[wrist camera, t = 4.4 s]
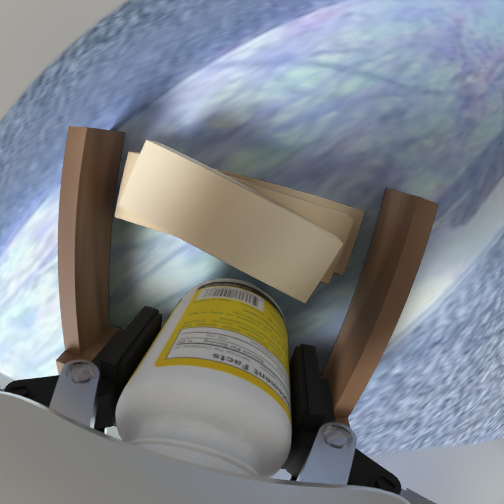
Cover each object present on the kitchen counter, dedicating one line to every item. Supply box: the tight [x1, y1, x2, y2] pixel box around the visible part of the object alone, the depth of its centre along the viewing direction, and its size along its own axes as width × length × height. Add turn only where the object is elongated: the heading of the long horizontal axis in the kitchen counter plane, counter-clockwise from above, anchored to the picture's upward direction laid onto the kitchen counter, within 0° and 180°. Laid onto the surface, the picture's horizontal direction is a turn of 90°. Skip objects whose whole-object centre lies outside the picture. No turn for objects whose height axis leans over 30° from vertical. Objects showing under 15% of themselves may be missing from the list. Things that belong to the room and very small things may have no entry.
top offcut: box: [119, 140, 343, 303], centre depth 12 cm, size 8×3×1 cm, turn 62°
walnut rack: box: [56, 126, 438, 428], centre depth 13 cm, size 15×12×4 cm
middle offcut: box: [115, 152, 354, 284], centre depth 13 cm, size 10×3×1 cm, turn 73°
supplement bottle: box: [115, 278, 292, 478], centre depth 10 cm, size 5×5×10 cm
